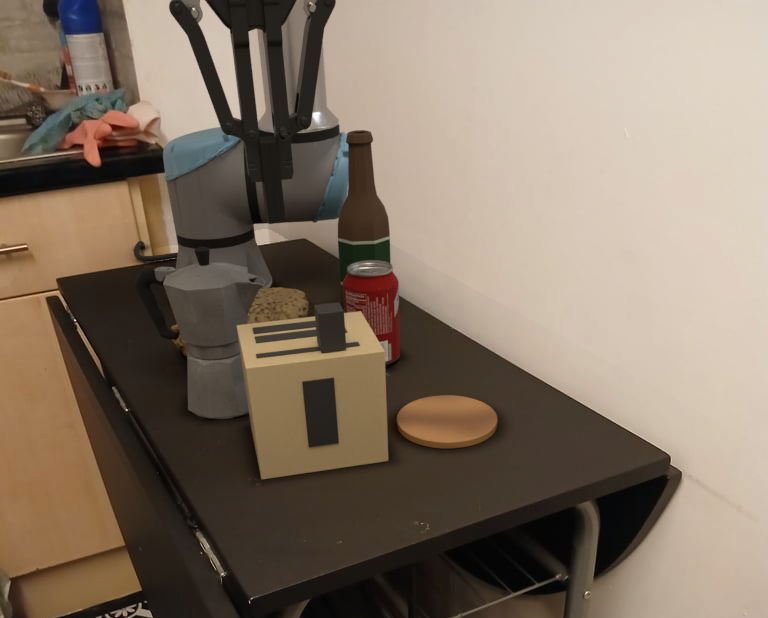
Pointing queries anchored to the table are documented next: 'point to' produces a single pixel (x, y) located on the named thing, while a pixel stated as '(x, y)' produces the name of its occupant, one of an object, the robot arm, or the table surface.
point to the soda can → (375, 302)
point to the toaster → (314, 396)
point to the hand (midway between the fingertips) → (275, 218)
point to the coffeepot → (206, 328)
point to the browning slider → (330, 327)
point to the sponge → (267, 309)
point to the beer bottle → (361, 210)
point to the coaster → (447, 421)
